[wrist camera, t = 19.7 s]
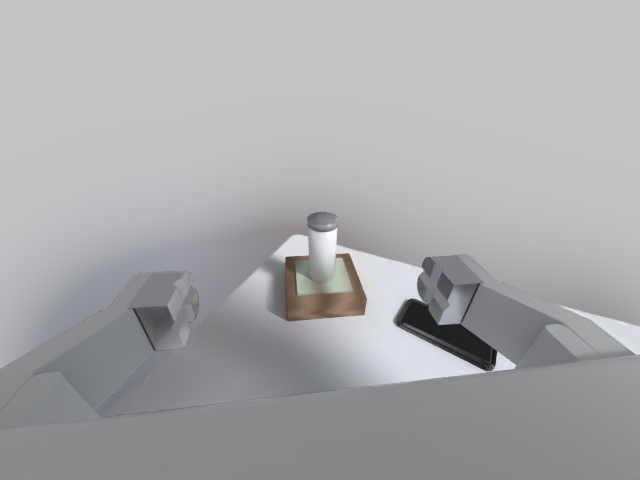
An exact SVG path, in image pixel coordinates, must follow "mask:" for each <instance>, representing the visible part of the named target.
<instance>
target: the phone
mask: <svg viewBox="0 0 640 480" xmlns="http://www.w3.org/2000/svg"><path fill="white" fill-rule="evenodd" d="M429 306H430V305H428V304H426V303H423V302H421V301H419V300H416V299H409V300H408V302H407V304H406V306H405V307H404V309H403V311H402V313H401V314H400V316H399V318H398V321H397V325H398V326H399V327H400V328H401V329H403V330H405V331H407V332H409V333H411V334H413V335H415V336H417V337H419V338H421V339H423V340H425V341H427V342H429V343H431V344H433V345H435V346H437V347H439V348H441V349H443V350H445V351H447V352H449V353H451V354H453V355H455V356H457V357H459V358H461V359H463V360H465V361H467V362H469V363H471V364H473V365H475V366H477V367H479V368H481V369H483V370H486V371H492V370H493V369H494V367H495V364H496V356H497V350H495V349H494V348H492V347H491V346H490V345H488V344H487V343H486V342H484V341H483V340H482V339H480V338H479V337H477V336H476V335H475V334H473V333H472V332H471V331H469V330H468V329H467V328H465V327H464V326H462V325H461V324H462V323H461V324H445V325H438V324H437V322H436V321H435V319H434V318H433V316H432V315H431V313H430V311H429Z"/></svg>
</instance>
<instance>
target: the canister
mask: <svg viewBox="0 0 640 480" xmlns="http://www.w3.org/2000/svg"><path fill="white" fill-rule="evenodd" d="M337 227H338V217H337V216H336V215H335V214H332V213H327V212H317V213H313V214H311V215H310V216H308V240H309V276H310V278H311V279H312V280H314V281H316V282H320V283H324V282H329V281H331V280H332V279H333V278H334V277H335V262H336V242H337V240H336V239H337Z"/></svg>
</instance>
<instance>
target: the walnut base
mask: <svg viewBox="0 0 640 480" xmlns="http://www.w3.org/2000/svg"><path fill="white" fill-rule="evenodd" d="M366 301H367V298H366V295H365V293H364V290H363V288H362V285H361V283H360V280H359V277H358V275H357V272H356V270H355V267H354V264H353V262H352V259H351V257H350V254H336V262H335V277H334V278H333V279H332V280H331V281H329V282H324V283H320V282H316V281H314V280H312V279H311V278H310V276H309V256H293V257H286V309H287V321H295V320H308V319H320V318H332V317H344V316H356V315H364V313H365V307H366Z"/></svg>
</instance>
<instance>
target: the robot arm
mask: <svg viewBox="0 0 640 480" xmlns="http://www.w3.org/2000/svg"><path fill="white" fill-rule="evenodd" d="M422 268H423V270H424V271H423V272H422V273H421V274H420V275H419V277H418V281H417V289H418V293H419V296H420V297H421V299H422V301H424V302H425V303H427V304H429V305H430V306H429V311H430V313H431V315H432V316H433V318H434V319H435V321H436V322H437V324H438V325H445V324H461V323H462V324H461V325H462V326H464V327H465V328H467V329H468V330H469V331H471V332H472V333H473V334H475V335H476V336H477V337H479V338H480V339H482V340H483V341H484V342H486V343H487V344H488V345H490V346H491V347H492V348H494V349H495V350H497V351H498V352H499V353H501V354H502V355H503V356H505V357H506V358H507V359H509V360H510V361H512V362H513V363H514V364H516V365H517V366H516V367H515V369H511V370H503V371H494V372H486V373H477V374H469V375H460V376H452V377H443V378H435V379H426V380H418V381H409V382H401V383H392V384H384V385H375V386H367V387H358V388H350V389H341V390H333V391H324V392H316V393H307V394H298V395H290V396H281V397H273V398H264V399H255V400H247V401H238V402H230V403H221V404H213V405H204V406H196V407H187V408H178V409H170V410H161V411H153V412H144V413H136V414H127V415H119V416H110V417H100V416H99V415H98V414H97V413H96V411H97V410H98V409H99V408H100V406H102V405H103V404H104V403H105V402H106V401H107V400H108V399H109V398H110V397H111V396H112V395H113V394H114V393H115V392H116V391H117V390H118V389H119V388H120V387H121V386H122V385H123V384H124V383H125V382H126V381H127V380H128V379H129V378H130V377H131V376H132V375H133V374H134V373H135V372H136V371H137V370H138V369H139V368H140V367H141V366H142V365H143V364H144V363H145V362H146V361H147V360H148V359H149V358H150V357H151V356H152V355H153V354H154V353H155V351H162V350H171V349H179V348H185V346H186V343H187V340H188V338H189V335H190V332H191V327H190V323H191V322H192V321H193V320H195V319H196V316H197V313H198V307H199V299H198V294H197V291H196V290H195V289H194V288H192V287H191V285H192V282H193V278H192V275H191V273H190V272H189V271H166V272H146V273H137V274H135V275H134V276H133V277H132V278H131V280H130V281H129V282H128V284H127V285H126V286H125V287H124V289H123V290H122V291H121V292H120V294H119V295H118V296H117V298H116V299H115V300H114V301H113V303H112V304H111V305H110V307H109V308H108V309H107V310H106V311H99V312H98V313H96V314H94V315H93V316H91V317H89V318H87V319H86V320H84V321H82V322H81V323H79V324H77V325H75V326H74V327H72V328H70V329H69V330H67V331H65V332H63V333H62V334H60V335H58V336H56V337H55V338H53V339H52V340H50V341H48V342H46V343H45V344H43V345H41V346H40V347H38V348H36V349H34V350H33V351H31V352H29V353H27V354H26V355H24V356H22V357H20V358H19V359H17V360H15V361H13V362H12V363H10V364H8V365H7V366H5V367H3V368H2V369H0V480H640V355H635V354H634V353H633V352H631V351H630V350H629V349H628V348H626V347H625V346H624V345H622V344H621V343H620V342H619V341H617V340H616V339H615V338H613V337H612V336H611V335H609V334H608V333H607V332H606V331H604V330H603V329H602V328H600V327H599V326H598V325H596V324H595V323H594V322H593V321H591V320H590V319H587V318H585V317H583V316H580V315H578V314H576V313H573V312H571V311H569V310H566V309H564V308H562V307H560V306H557V305H555V304H553V303H550V302H548V301H546V300H543V299H541V298H539V297H536V296H534V295H532V294H529V293H527V292H525V291H523V290H520V289H518V288H516V287H513V286H511V285H509V284H506V283H504V282H498V281H497V280H496V279H495V278H494V277H492V276H491V275H490V274H489V273H488V272H487V271H486V270H485V269H484V268H483V267H482V266H480V265H479V264H478V263H477V262H476V261H475V260H474V259H473V258H472V257H471V256H469V255H466V254H462V255H452V256H439V257H426V258H425V259H424V261H423V263H422Z"/></svg>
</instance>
